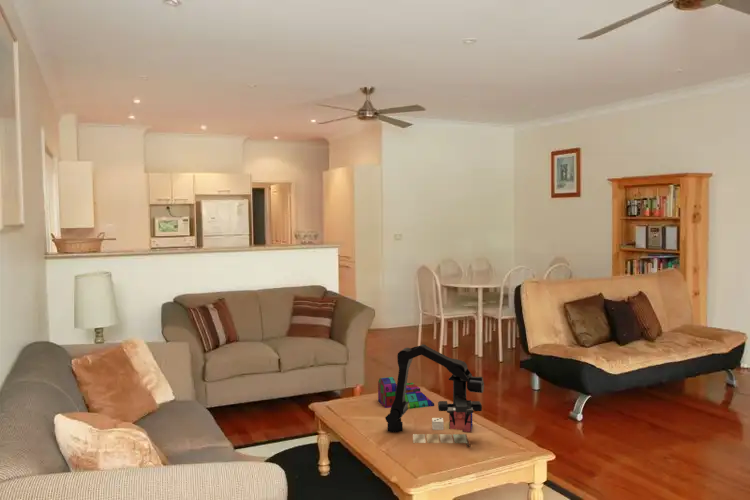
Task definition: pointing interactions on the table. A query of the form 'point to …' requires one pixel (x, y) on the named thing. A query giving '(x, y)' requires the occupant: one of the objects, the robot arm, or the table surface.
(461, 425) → the pawn
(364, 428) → the table surface
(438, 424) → the die
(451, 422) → the puzzle cube
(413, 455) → the table surface
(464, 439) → the board
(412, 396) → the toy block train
